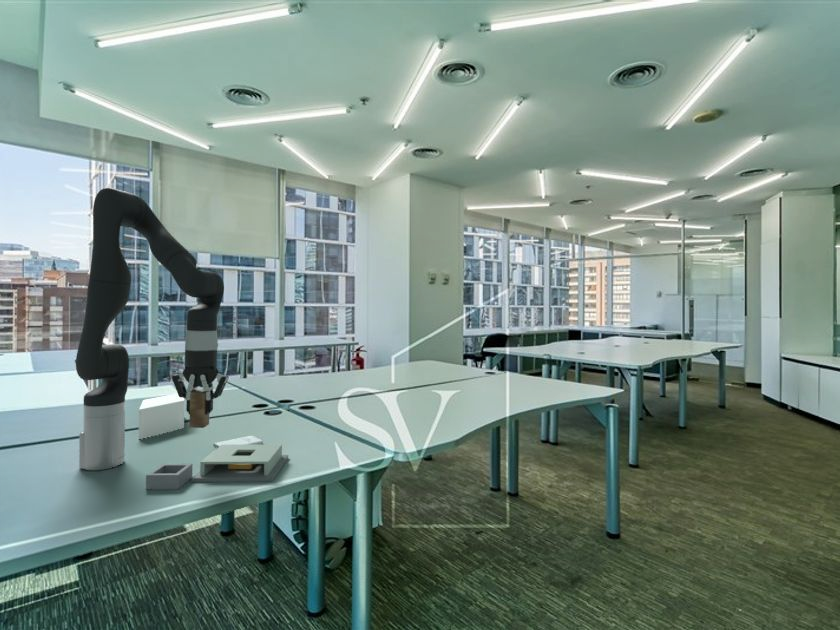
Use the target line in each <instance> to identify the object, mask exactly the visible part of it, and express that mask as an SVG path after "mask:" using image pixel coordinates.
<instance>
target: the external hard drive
mask: <svg viewBox="0 0 840 630" xmlns="http://www.w3.org/2000/svg"><path fill="white" fill-rule="evenodd" d="M262 443H263V444H264V441H263V440H262V439H260V438H258V437H256V436H254V435H248V436H247V435H246V436H242V437H237V438H233V439H228V440H223V441H217V442H214V443H213V447H214V446H215V447H214V448H216V447H217V448H218V447H220V446H221V445H257V444H262ZM217 448H216V449H217Z"/></svg>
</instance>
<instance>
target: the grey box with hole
mask: <svg viewBox="0 0 840 630" xmlns="http://www.w3.org/2000/svg"><path fill="white" fill-rule="evenodd" d="M288 459H289V454H283V444H280V443H279V444H269V443H268V444H264V443H263V444H257V445H221V446H220V447H218V448H216V449H214V451H212V452H211V453H210V454H208V455H207V456H206V457H204V459H202V460H201V461H200V464H199V465H200V467H199V468H200V470H199V471H198V472H196V473H195V475H194V476H192V478H191V483H236V482H237V483H238V482H239V483H240V482H241V483H242V482H243V483H245V482H246V483H248V482H249V483H250V482H251V483H252V482H263V483H264V482H265V483H266V482H273V481H274V480H275V478H276V477H277V475H279V473H280V471H281V470H282V468H283V467H284V465H285V464H286V462H287V461H288ZM228 464H255V465H254V466H253V468H252V469H228Z"/></svg>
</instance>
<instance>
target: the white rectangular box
mask: <svg viewBox="0 0 840 630" xmlns="http://www.w3.org/2000/svg"><path fill="white" fill-rule="evenodd" d="M182 428H183V429H184V428H185V398H183V397H179V395H178V393H173V394H169V395H163V396H157V397H152V398H146V399H143V400H142V402H141V405H140V406H139V409H138V440H139V439H141V440H143V439H142V438H145V439H148V438H147V437H149V438H152V437H151V436H153V437H155V435H156V436H160V435H164V434H168V433H172V432H174V430H175V431H177V430H178V429H179V430H182ZM167 432H168V433H167ZM163 433H164V434H163ZM159 434H160V435H159Z"/></svg>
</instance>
